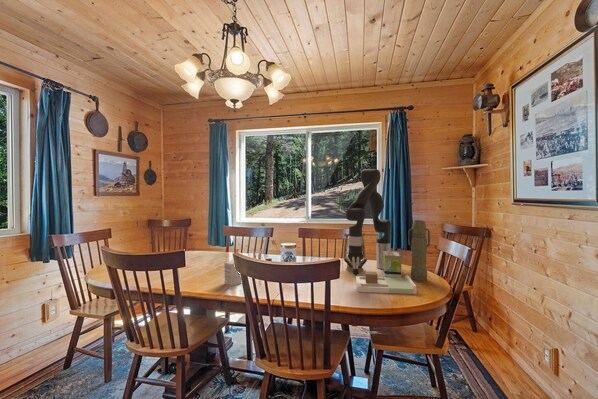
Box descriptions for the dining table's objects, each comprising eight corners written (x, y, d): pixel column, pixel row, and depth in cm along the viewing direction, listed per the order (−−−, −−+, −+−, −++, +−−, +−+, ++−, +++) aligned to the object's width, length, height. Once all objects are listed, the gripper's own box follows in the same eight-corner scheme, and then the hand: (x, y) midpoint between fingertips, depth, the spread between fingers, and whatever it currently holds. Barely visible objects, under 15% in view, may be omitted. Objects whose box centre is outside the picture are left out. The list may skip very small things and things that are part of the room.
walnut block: (365, 280, 167) (365, 271, 167) (376, 280, 166) (376, 271, 166) (366, 283, 161) (366, 274, 161) (377, 283, 160) (377, 274, 160)
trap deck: (355, 280, 175) (355, 273, 174) (408, 282, 170) (408, 275, 170) (357, 291, 155) (357, 283, 155) (416, 294, 150) (416, 286, 150)
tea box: (401, 280, 174) (401, 255, 173) (384, 279, 176) (384, 255, 175) (398, 274, 188) (398, 250, 188) (382, 273, 190) (382, 250, 190)
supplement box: (235, 281, 176) (235, 259, 175) (242, 283, 170) (242, 261, 170) (224, 283, 170) (223, 261, 170) (231, 286, 165) (230, 263, 165)
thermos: (406, 277, 181) (406, 220, 181) (427, 277, 179) (427, 220, 179) (410, 281, 172) (410, 221, 172) (431, 282, 170) (431, 221, 170)
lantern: (344, 271, 195) (344, 226, 194) (343, 267, 207) (342, 224, 206) (366, 272, 194) (366, 226, 193) (364, 267, 206) (364, 224, 205)
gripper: (367, 243, 167) (367, 274, 167) (343, 242, 169) (343, 273, 169) (368, 245, 160) (368, 277, 160) (343, 245, 162) (343, 276, 162)
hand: (355, 275), depth 164 cm, fingers closed
